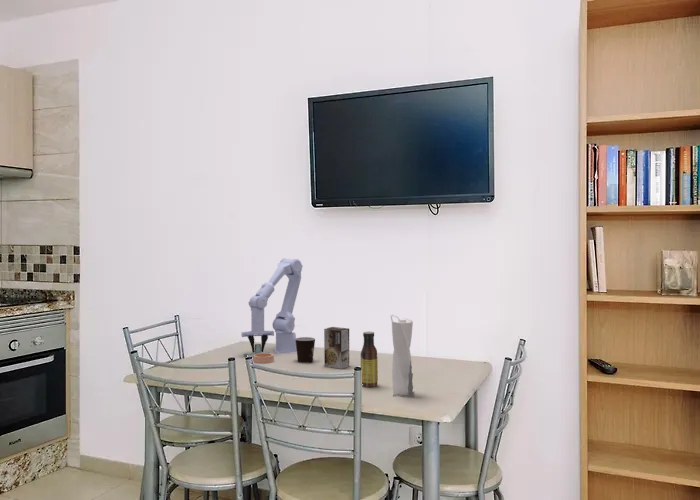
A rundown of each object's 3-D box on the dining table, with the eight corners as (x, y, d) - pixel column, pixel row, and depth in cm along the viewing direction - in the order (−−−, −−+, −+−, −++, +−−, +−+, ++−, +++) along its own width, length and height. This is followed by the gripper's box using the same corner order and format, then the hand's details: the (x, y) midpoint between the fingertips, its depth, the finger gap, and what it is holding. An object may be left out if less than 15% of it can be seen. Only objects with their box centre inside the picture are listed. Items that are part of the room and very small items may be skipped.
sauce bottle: (367, 382, 220) (368, 330, 220) (381, 385, 216) (381, 331, 216) (356, 385, 215) (357, 332, 215) (370, 388, 211) (370, 334, 211)
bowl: (272, 359, 260) (272, 352, 260) (275, 363, 251) (275, 356, 251) (251, 360, 257) (251, 353, 257) (253, 364, 249) (253, 357, 249)
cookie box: (350, 366, 247) (350, 328, 246) (341, 369, 241) (341, 330, 241) (332, 363, 252) (332, 326, 251) (323, 366, 246) (323, 328, 246)
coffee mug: (306, 364, 249) (306, 341, 249) (291, 362, 254) (291, 339, 254) (323, 360, 259) (323, 337, 258) (308, 357, 264) (308, 335, 263)
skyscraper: (388, 396, 202) (389, 316, 201) (391, 390, 210) (391, 313, 209) (412, 398, 201) (413, 317, 200) (414, 391, 209) (415, 313, 208)
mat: (269, 353, 273) (269, 352, 273) (272, 358, 261) (272, 357, 261) (243, 354, 270) (243, 353, 270) (245, 359, 258) (245, 359, 258)
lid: (266, 353, 271) (266, 342, 271) (269, 357, 262) (269, 345, 262) (246, 354, 269) (246, 343, 269) (248, 358, 260) (248, 346, 260)
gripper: (272, 320, 271) (272, 349, 272) (240, 321, 267) (240, 351, 267) (274, 322, 264) (274, 352, 265) (242, 323, 260) (242, 354, 261)
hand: (257, 351), depth 266 cm, fingers open, 3 cm apart
